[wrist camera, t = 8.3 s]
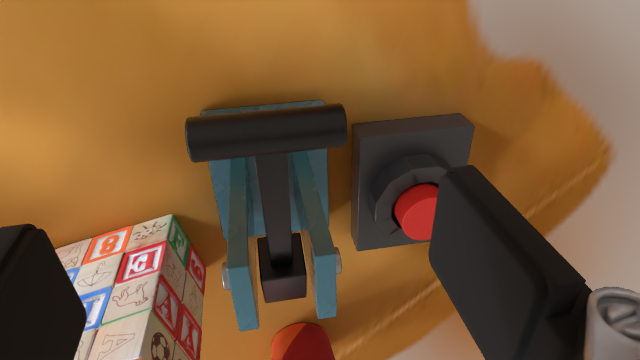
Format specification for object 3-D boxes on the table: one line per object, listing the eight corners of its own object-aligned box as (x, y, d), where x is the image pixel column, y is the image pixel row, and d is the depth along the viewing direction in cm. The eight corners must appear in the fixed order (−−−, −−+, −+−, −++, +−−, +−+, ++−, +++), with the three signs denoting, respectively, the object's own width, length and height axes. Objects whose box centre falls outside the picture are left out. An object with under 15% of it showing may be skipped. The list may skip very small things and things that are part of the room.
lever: (185, 98, 13) (183, 153, 12) (337, 84, 14) (352, 135, 12) (236, 266, 23) (238, 308, 21) (325, 253, 23) (332, 293, 22)
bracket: (200, 110, 26) (177, 224, 17) (323, 99, 27) (370, 200, 18) (224, 230, 32) (218, 369, 22) (326, 217, 33) (363, 345, 23)
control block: (352, 123, 29) (366, 150, 25) (460, 112, 30) (488, 137, 26) (350, 233, 34) (362, 267, 31) (442, 221, 35) (463, 253, 32)
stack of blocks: (-41, 346, 34) (-163, 533, 23) (-104, 297, 30) (-280, 492, 20) (208, 268, 34) (195, 421, 23) (174, 210, 30) (140, 361, 20)
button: (395, 186, 28) (404, 201, 26) (446, 180, 28) (457, 194, 27) (392, 227, 30) (400, 243, 28) (439, 221, 30) (449, 237, 29)
